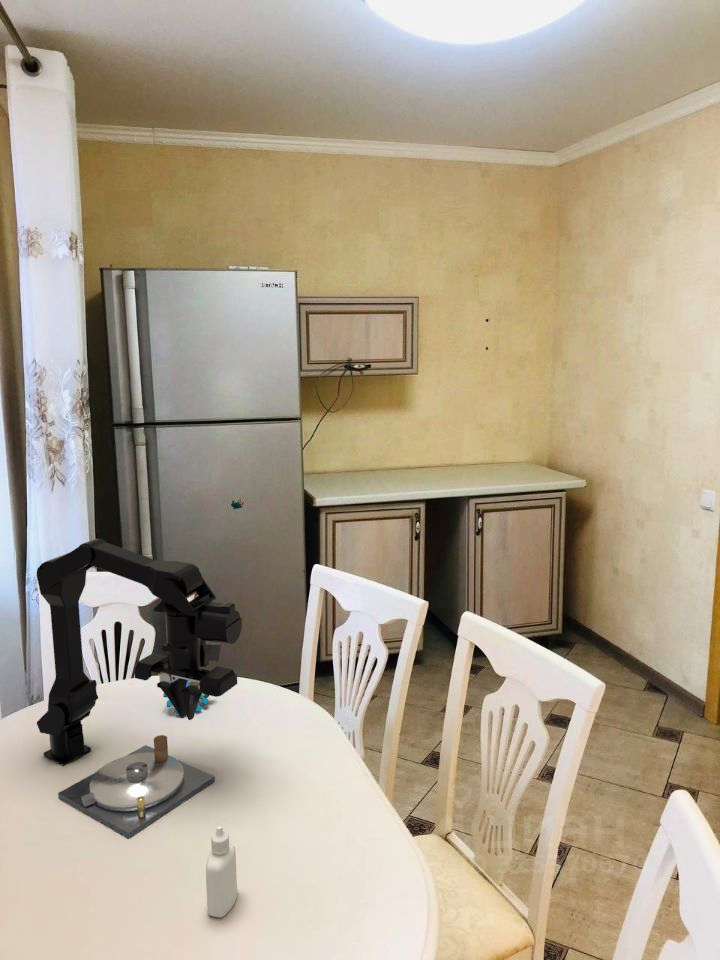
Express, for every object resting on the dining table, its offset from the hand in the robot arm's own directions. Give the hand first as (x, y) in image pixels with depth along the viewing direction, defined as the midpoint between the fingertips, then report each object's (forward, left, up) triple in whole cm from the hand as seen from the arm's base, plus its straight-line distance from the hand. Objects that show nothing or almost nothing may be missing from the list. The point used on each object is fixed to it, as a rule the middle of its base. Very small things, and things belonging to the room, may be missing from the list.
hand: (187, 718), depth 130 cm
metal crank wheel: (-5, -8, -11) cm, 14 cm away
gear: (-20, +19, -12) cm, 30 cm away
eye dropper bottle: (+27, -19, -12) cm, 35 cm away
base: (-5, -8, -12) cm, 15 cm away
